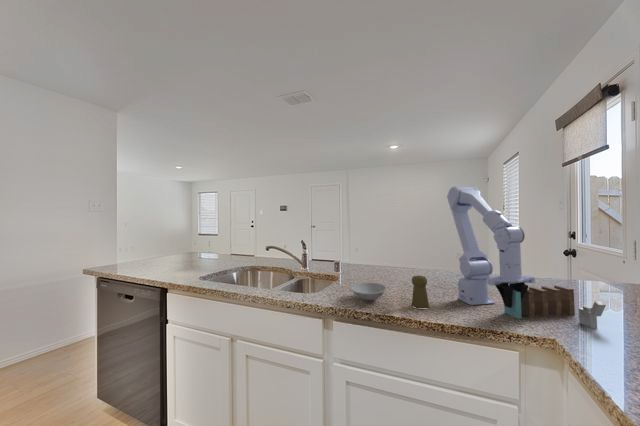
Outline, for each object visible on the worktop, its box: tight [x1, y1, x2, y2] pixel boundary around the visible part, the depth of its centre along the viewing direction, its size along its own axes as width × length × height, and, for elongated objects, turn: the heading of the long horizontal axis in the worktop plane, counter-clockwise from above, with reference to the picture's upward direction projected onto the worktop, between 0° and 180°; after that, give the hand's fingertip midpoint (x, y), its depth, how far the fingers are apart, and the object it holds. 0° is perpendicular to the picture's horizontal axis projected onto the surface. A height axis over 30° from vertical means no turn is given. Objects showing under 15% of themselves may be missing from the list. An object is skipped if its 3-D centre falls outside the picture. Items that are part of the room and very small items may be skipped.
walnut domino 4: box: [553, 284, 576, 316], centre depth 88 cm, size 2×5×8 cm, turn 4°
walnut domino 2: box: [528, 286, 549, 318], centre depth 87 cm, size 2×5×8 cm, turn 4°
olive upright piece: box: [411, 275, 430, 309], centre depth 98 cm, size 6×6×11 cm
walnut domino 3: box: [540, 285, 563, 317], centre depth 88 cm, size 2×5×8 cm, turn 4°
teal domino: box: [503, 290, 523, 319], centre depth 87 cm, size 2×5×8 cm, turn 4°
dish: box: [350, 281, 388, 301], centre depth 108 cm, size 18×14×5 cm
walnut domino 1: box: [521, 288, 536, 318], centre depth 87 cm, size 2×5×8 cm, turn 4°
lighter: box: [578, 300, 607, 329], centre depth 76 cm, size 7×2×8 cm, turn 172°
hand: (512, 306), depth 87 cm, fingers open, 2 cm apart
